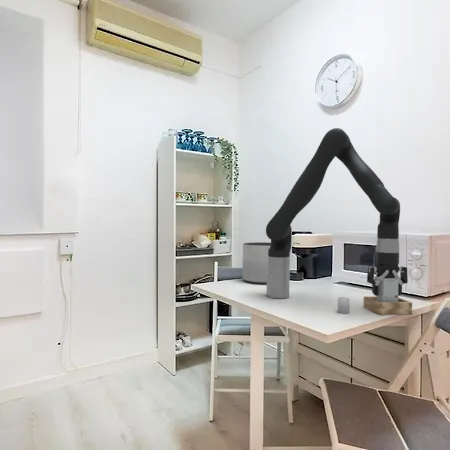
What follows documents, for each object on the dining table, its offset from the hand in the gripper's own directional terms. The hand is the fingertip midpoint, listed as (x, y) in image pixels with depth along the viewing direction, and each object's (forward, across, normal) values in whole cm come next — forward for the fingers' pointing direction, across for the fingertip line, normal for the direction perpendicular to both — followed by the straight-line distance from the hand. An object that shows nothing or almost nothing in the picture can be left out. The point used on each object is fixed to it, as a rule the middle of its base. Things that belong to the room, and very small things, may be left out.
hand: (387, 295), depth 123 cm
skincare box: (+6, 0, 0) cm, 6 cm away
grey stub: (+6, -17, -1) cm, 18 cm away
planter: (+6, -33, +61) cm, 70 cm away
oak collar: (+6, 0, 0) cm, 6 cm away
